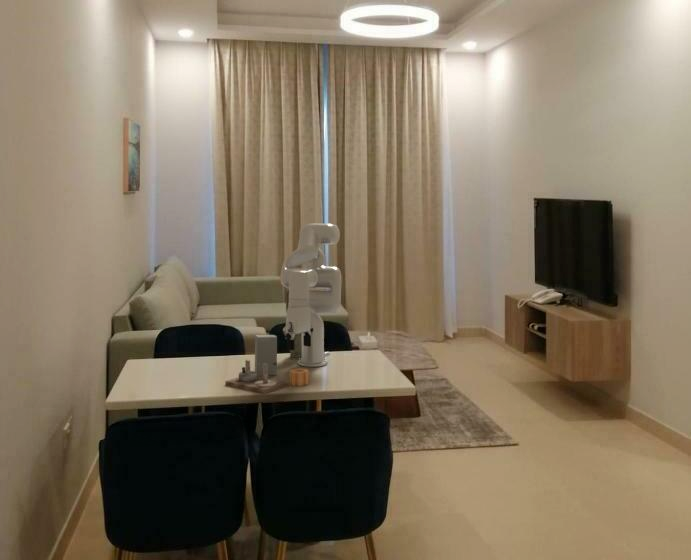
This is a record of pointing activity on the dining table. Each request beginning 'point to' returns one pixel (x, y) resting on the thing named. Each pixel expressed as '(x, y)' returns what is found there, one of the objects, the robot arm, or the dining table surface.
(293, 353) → the thermos
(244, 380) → the gear board
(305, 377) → the loose gear
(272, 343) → the skincare box
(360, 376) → the dining table surface
